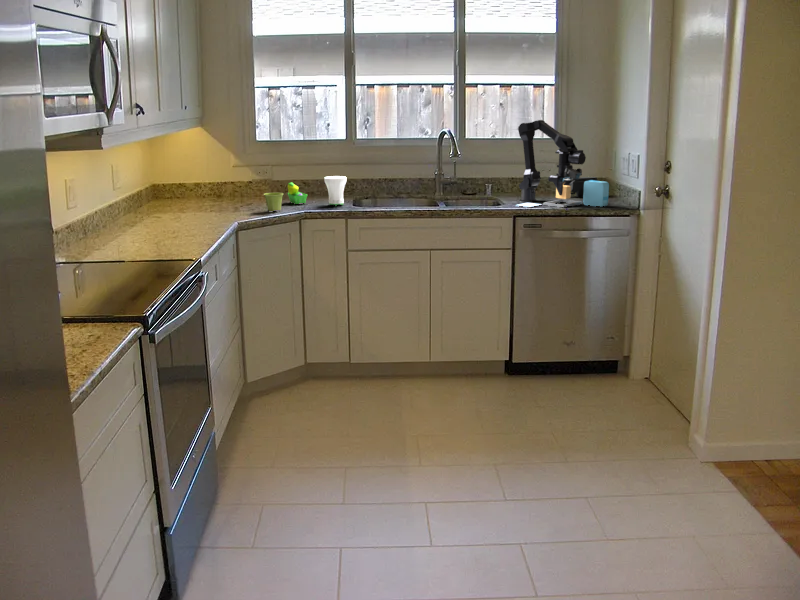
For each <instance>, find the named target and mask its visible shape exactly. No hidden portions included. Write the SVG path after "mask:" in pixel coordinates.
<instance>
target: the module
mask: <svg viewBox="0 0 800 600" xmlns="http://www.w3.org/2000/svg"><path fill="white" fill-rule="evenodd" d="M571 193H572V192H571V186H566V185H563V191H562V195H559V193H558V190H557V188H556V187H555V198H556V199H564V200H569V199H571V195H572V194H571Z"/></svg>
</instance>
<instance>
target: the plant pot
mask: <svg viewBox="0 0 800 600" xmlns="http://www.w3.org/2000/svg"><path fill="white" fill-rule="evenodd" d="M283 195H284V193H283V192H265V193H263V196H264V198H265V203H266V207H267V208H266V209H267V211H268V210H269V211H274V210H281V211H282V199H283Z"/></svg>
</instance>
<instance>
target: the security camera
mask: <svg viewBox="0 0 800 600" xmlns="http://www.w3.org/2000/svg"><path fill="white" fill-rule="evenodd" d="M573 180H575V181H574V182H572V183H571V185H570V186H571V195H575V197H577V198H583V193H584V182H585V181H590V180H594V181H599V179H598V177H596V176H595V177H594V176H586V177H585V176H583V177H581V176H580V177H579V179H573Z"/></svg>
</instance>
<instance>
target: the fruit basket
mask: <svg viewBox="0 0 800 600" xmlns="http://www.w3.org/2000/svg"><path fill="white" fill-rule="evenodd" d="M287 191H288V193H287V196H288V199H289V202H290V203H291V202H292V203H295V204H299V203H305V204H307V203H306V202H307V197H308V194H307V193H303V192H300V191H299V186H297V185H296V184H294V183H293V182H288V183H287ZM292 203H291V204H292ZM295 204H294V205H295Z"/></svg>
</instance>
